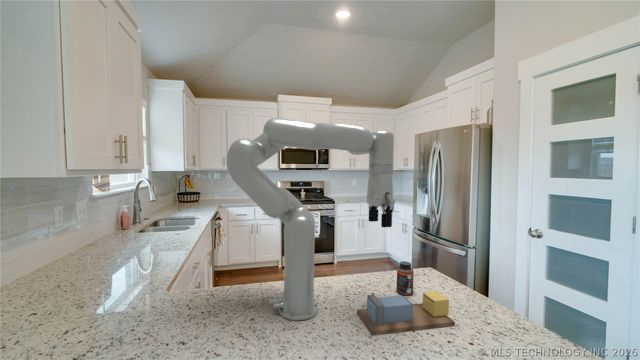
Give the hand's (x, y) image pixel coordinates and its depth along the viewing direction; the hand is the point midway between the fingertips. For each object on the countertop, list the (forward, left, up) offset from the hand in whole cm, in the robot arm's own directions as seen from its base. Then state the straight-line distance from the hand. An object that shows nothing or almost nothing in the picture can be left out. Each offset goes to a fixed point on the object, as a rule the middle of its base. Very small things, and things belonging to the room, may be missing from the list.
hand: (379, 224), depth 86 cm
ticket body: (+1, -6, -27) cm, 28 cm away
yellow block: (+17, -6, -27) cm, 32 cm away
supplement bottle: (+16, +11, -28) cm, 34 cm away
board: (+6, -6, -28) cm, 30 cm away
